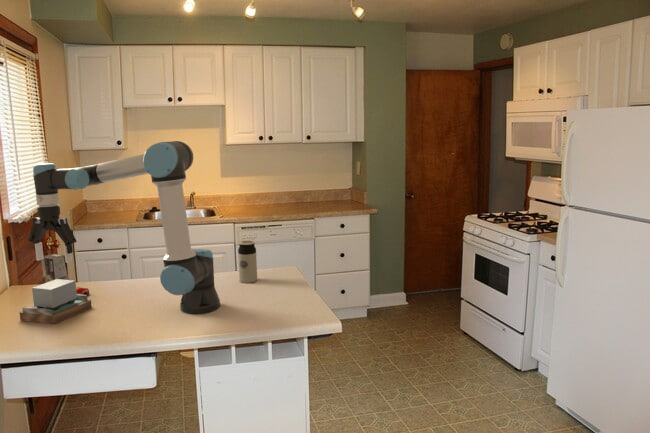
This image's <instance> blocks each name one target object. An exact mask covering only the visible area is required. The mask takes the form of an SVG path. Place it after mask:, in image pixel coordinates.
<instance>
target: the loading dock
mask: <svg viewBox="0 0 650 433" xmlns="http://www.w3.org/2000/svg"><path fill="white" fill-rule="evenodd" d="M91 308H93V306H92V299H88V295H81V294H77V298H76V299H75V302H74V303H68V302H66V303H64V304H61V305H60V307H59V309H58V310H52V309H51V308H49V307H43V308H37V307H36V306H34V305H33V306H32V307H31V306H23V307H22V310H21V311H19V312H18V313H19V320H20V321H25V322H33V323H41V324H49V325H56V324H58V323H61V322H63V321H65V320H67V319H70V318H72V317H74V316H76V315H78V314H81V313H82V312H85V311H87V310H90V309H91Z"/></svg>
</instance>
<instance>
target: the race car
mask: <svg viewBox="0 0 650 433" xmlns="http://www.w3.org/2000/svg"><path fill="white" fill-rule="evenodd" d="M76 292H77V294H81V295H87V296H88V295H90V290H89V288H88V287H78V286H77V287H76Z"/></svg>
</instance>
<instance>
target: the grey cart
mask: <svg viewBox="0 0 650 433" xmlns="http://www.w3.org/2000/svg"><path fill="white" fill-rule="evenodd" d="M76 288H77V284H76V280H73V279H72V280H71V279H69V280H63V279H55V280H53V281H50V282H47V283H44V282H43V283H42V284H39V285H37V286H33V287H31V290H32V291H31V292H32V299H33V300H32V301H33V307H34V306H36V307H37V308H43V307H49V308H51V309H52V310H58V309H59V307H60V305H61V304H64V303H66V302H68V303H74V302H75V299H76V298H77V292H76Z"/></svg>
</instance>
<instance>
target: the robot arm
mask: <svg viewBox="0 0 650 433" xmlns="http://www.w3.org/2000/svg"><path fill="white" fill-rule="evenodd" d="M193 163H194V152H193V150H192V148H191V147H190V146H189V145H188V144H187V143H185V142H183V141H179V140H174V141H161V142H157V143H153V144H151V145H150V146H149V147H148V148H146V150H145V152H144V153H142V154H138V155H133V156H130V157H123V158H119V159H115V160H110V161H105V162H100V163H96V164H91V165H86V166H80V167H79V166H78V167H72V168H57V167H56V164H55V163H54V162H53V163H52V162H50V163H49V162H47V163H45V162H44V163H36V164H34V165H33V167H32V169H33V170H32V171H33V172H32V173H33V174H32V177H33V183H34V189H35V196H36V197H35V199H36V205H37V208H36V210H37V216H38V217H33V218H32V226H31V229H30V233H29V237H28V242H30V243H32V244H33V248H34V252H35V258H36V261H41V260H42V259H44V256H45V255H44V250H43V242H42V240H43V237H44V235H45V234H46V232H47V231H53V232H55V233H56V234H57V235H58V237H59V238H60V239H61V241H62V242H63V243H64V245H63V253H64V256H65V263H67V264H68V263H70V262H73V254H72V253H73V252H74V251H73V244H75V243H77V239H76V237H75V235H74V233H73V230H72V229H71V228H70V225H69V222H68V218H66V217H64V218H61V217H60V215H61V206H60V205H59V204H60V198H59V190H73V191H76V190H83V189H86V188H87V187H90V186H91V187H92V186H96V185H100V184H104V183H110V182H114V181H119V180H124V179H128V178H135V177H139V176H144V175H148V174H149V175H150V176H151V177H150V178H151V183H152V184H153V185H154V186H156V187H157V193H158V201H159V207H160V216H161V221H162V222H161V223H162V228H163V236H164V244H165V250H166V253H165V255H164V256H163V258H162V260H163V269H162V271H161V273H160V275H159V276H160V283H161V286H162V288H164V290H165V291H167V292H168V293H169V294H171V295H174V296H181V300H180V302H179V303H180V304H179V308H180V311H181V312H183V313H186V314H206V313H211V312H214V311H216V310H218V309H219V308H220V306H221V299H220V297H219V295H218V291H217V290H216V287H215V271H214V269H215V268H214V255H213V251H212V250H211V249H206V248H205V249H204V248H195V249H194V248H193V249H192V246H191V238H190V232H189V222H188V217H187V209H186V200H185V194H184V188H183V186H184V185H183V184H184V182H185V181H186V180H187V178H186V177H187V176H186V172H187V171H188V170H189V169H190V168H191V167H192V165H193Z"/></svg>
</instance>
